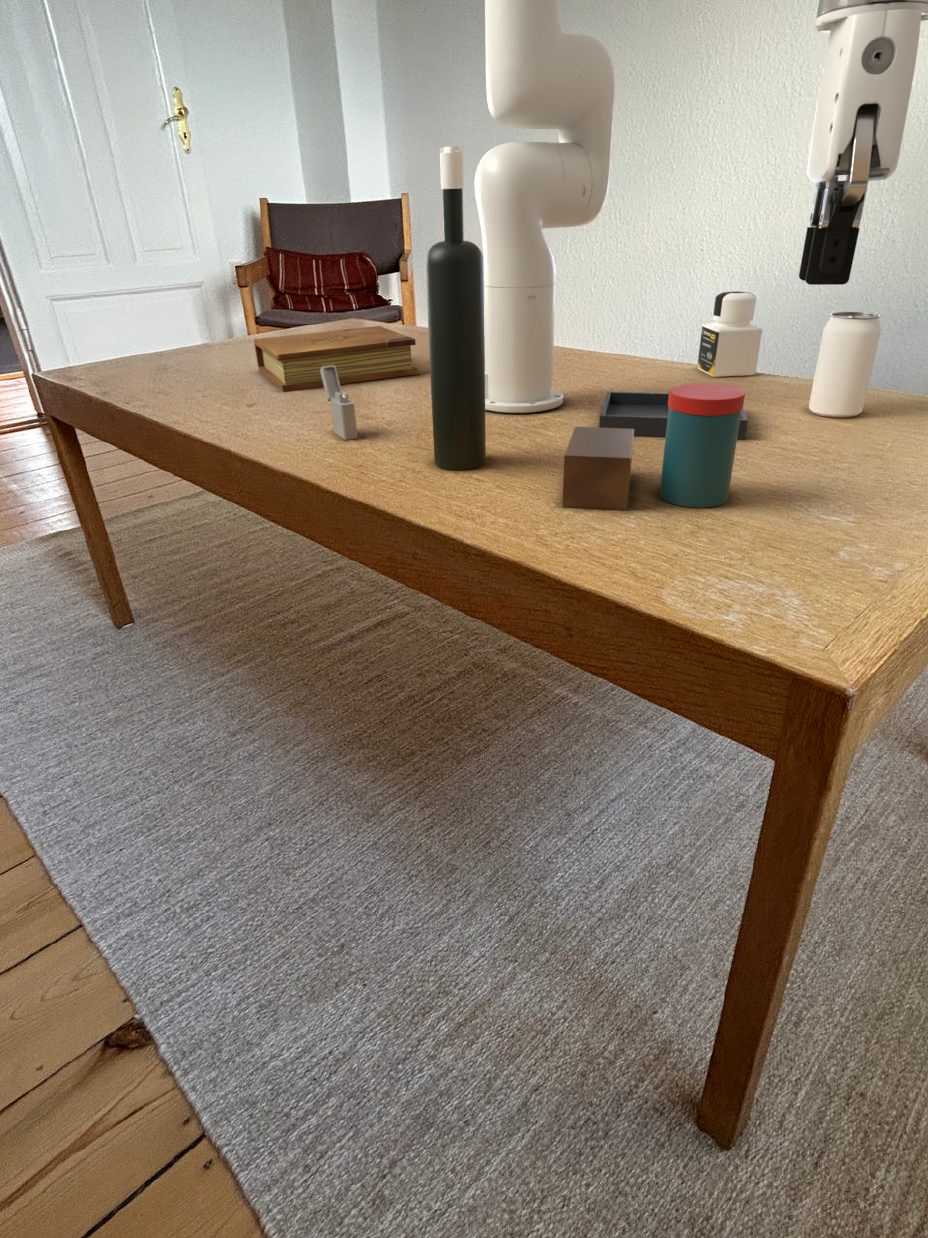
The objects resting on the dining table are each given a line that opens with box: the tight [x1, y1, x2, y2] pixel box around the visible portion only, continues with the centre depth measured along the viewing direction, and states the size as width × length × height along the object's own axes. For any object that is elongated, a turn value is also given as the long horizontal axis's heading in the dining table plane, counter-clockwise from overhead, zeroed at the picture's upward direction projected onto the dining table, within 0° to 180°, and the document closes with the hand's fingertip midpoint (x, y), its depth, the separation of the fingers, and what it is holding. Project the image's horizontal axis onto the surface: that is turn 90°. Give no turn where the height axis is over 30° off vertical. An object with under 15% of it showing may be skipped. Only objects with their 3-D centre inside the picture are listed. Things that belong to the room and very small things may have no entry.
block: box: [561, 426, 635, 511], centre depth 74 cm, size 6×10×5 cm, turn 167°
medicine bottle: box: [696, 290, 763, 378], centre depth 119 cm, size 7×7×12 cm
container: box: [659, 383, 746, 509], centre depth 70 cm, size 12×7×12 cm
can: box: [808, 311, 882, 419], centre depth 96 cm, size 6×6×12 cm
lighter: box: [320, 365, 359, 441], centre depth 94 cm, size 7×2×8 cm, turn 28°
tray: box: [598, 391, 749, 441], centre depth 96 cm, size 17×13×2 cm
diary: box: [253, 325, 419, 392], centre depth 129 cm, size 23×19×6 cm
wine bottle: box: [424, 145, 487, 471], centre depth 77 cm, size 6×6×30 cm
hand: (822, 279), depth 62 cm, fingers closed
